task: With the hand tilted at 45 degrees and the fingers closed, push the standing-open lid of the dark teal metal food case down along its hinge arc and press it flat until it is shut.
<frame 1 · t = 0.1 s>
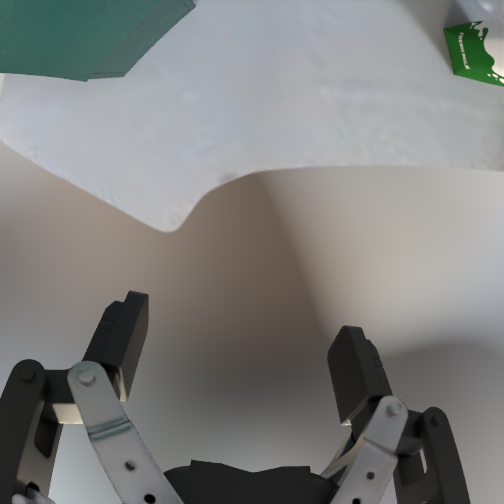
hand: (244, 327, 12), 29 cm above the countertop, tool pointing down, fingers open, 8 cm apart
milk carton: (465, 51, 28), on the countertop
case lid: (71, 4, 13), point 18 cm above the countertop, hinge at 75.0°
food case: (119, 8, 26), on the countertop
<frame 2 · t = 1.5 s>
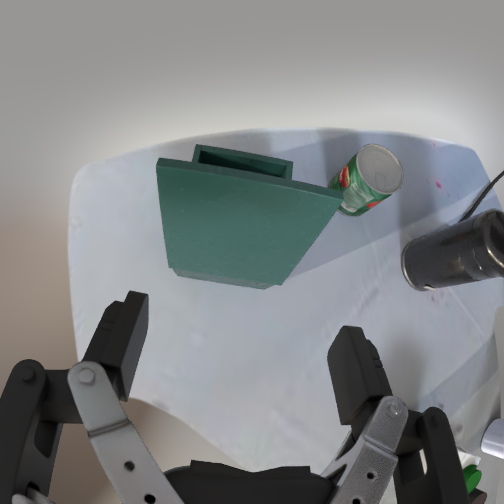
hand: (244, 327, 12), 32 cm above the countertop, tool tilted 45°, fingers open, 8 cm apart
canned tomato: (348, 195, 50), on the countertop
milk carton: (391, 442, 42), on the countertop
deodorant: (431, 481, 42), on the countertop
case lid: (235, 237, 27), point 18 cm above the countertop, hinge at 75.0°
soap bottle: (490, 435, 45), on the countertop
food case: (228, 230, 45), on the countertop
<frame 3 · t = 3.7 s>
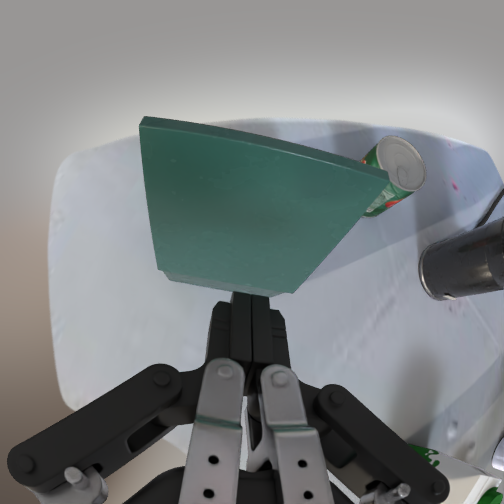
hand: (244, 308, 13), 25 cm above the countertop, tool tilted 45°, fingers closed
canned tomato: (362, 194, 44), on the countertop
milk carton: (403, 464, 36), on the countertop
case lid: (241, 232, 21), point 18 cm above the countertop, hinge at 75.0°
soap bottle: (501, 450, 39), on the countertop
food case: (229, 229, 40), on the countertop
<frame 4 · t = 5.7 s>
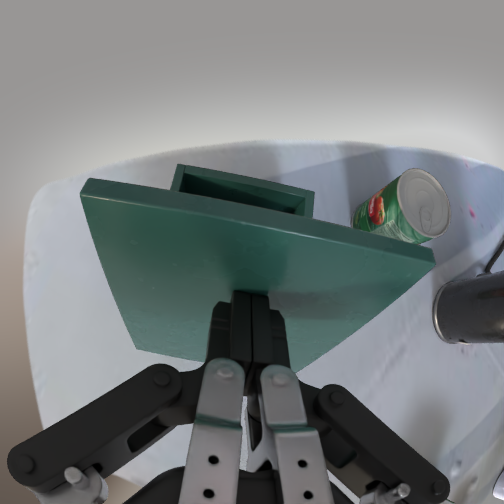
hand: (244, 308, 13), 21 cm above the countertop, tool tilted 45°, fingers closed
canned tomato: (375, 230, 39), on the countertop
case lid: (234, 321, 16), point 18 cm above the countertop, hinge at 67.8°, touching gripper
soap bottle: (503, 479, 34), on the countertop
food case: (223, 278, 34), on the countertop
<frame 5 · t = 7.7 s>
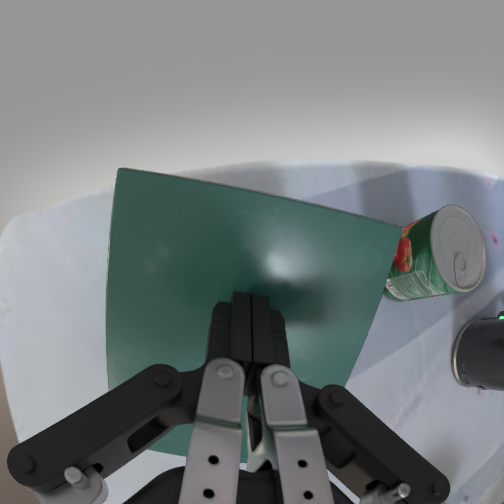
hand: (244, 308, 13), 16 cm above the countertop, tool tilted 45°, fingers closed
canned tomato: (394, 268, 33), on the countertop
case lid: (231, 362, 14), point 14 cm above the countertop, hinge at 28.4°, touching gripper
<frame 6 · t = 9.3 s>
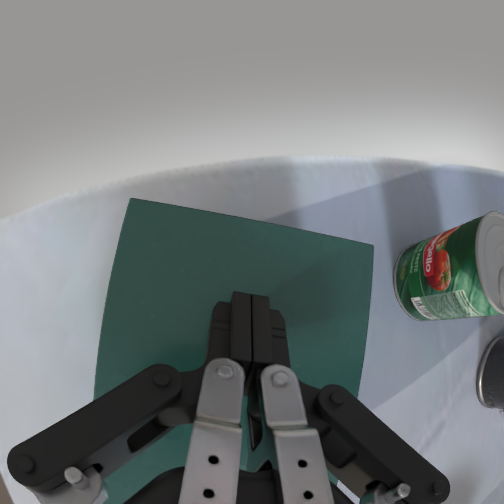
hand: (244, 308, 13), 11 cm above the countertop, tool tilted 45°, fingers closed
canned tomato: (421, 282, 28), on the countertop
case lid: (230, 393, 13), point 10 cm above the countertop, hinge at -0.2°, touching food case, gripper
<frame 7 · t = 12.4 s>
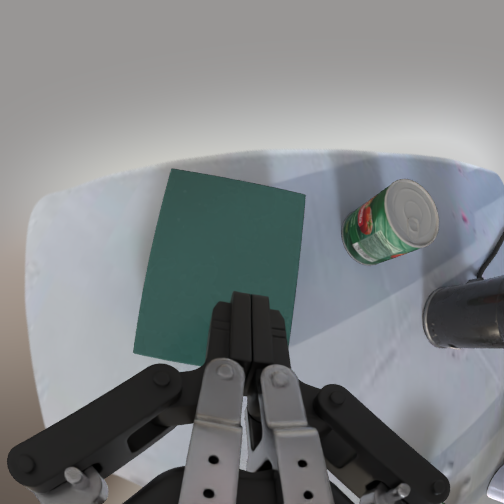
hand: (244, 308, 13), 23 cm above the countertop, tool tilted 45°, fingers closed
canned tomato: (365, 237, 40), on the countertop
case lid: (223, 269, 26), point 10 cm above the countertop, hinge at -0.2°, touching food case
soap bottle: (497, 480, 35), on the countertop
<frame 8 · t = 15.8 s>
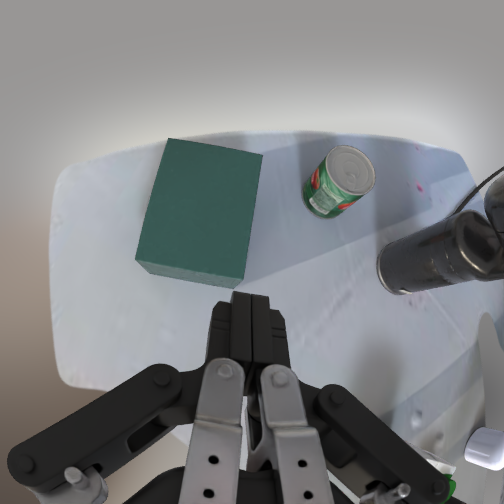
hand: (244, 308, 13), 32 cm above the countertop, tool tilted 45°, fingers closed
canned tomato: (323, 197, 51), on the countertop
milk carton: (365, 448, 43), on the countertop
deodorant: (410, 489, 42), on the countertop
case lid: (201, 203, 36), point 10 cm above the countertop, hinge at -0.2°, touching food case
soap bottle: (474, 443, 46), on the countertop
food case: (200, 230, 46), on the countertop
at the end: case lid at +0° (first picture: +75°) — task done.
